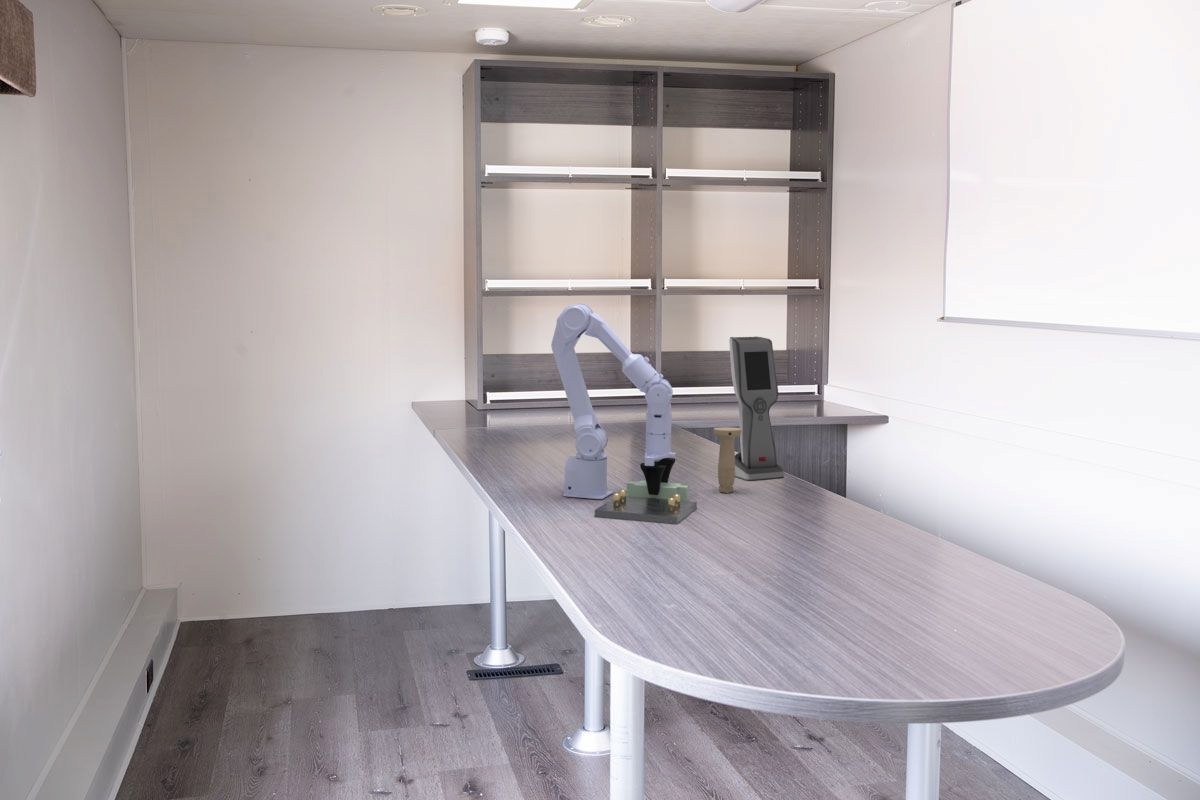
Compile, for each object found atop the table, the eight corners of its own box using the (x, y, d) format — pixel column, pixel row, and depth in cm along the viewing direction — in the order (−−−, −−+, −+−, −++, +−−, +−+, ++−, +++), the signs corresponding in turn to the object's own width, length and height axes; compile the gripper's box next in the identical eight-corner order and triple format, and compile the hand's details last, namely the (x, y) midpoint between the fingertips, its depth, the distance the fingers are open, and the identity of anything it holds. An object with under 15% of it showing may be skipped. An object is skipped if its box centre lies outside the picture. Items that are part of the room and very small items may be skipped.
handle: (741, 493, 256) (743, 430, 255) (714, 494, 256) (716, 430, 254) (736, 489, 261) (738, 427, 259) (710, 490, 260) (711, 427, 259)
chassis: (594, 516, 231) (594, 498, 231) (618, 501, 246) (618, 484, 246) (677, 524, 225) (677, 505, 225) (696, 508, 240) (696, 490, 240)
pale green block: (624, 498, 250) (624, 484, 250) (632, 493, 256) (632, 479, 255) (683, 503, 246) (684, 489, 245) (690, 498, 251) (690, 484, 251)
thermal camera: (757, 469, 288) (761, 336, 284) (786, 477, 277) (791, 339, 273) (720, 472, 283) (723, 337, 279) (747, 481, 272) (751, 340, 267)
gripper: (666, 438, 241) (665, 499, 242) (684, 429, 254) (682, 487, 256) (636, 436, 243) (635, 497, 245) (654, 428, 257) (653, 485, 258)
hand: (657, 492), depth 250 cm, fingers closed on pale green block, 6 cm apart
